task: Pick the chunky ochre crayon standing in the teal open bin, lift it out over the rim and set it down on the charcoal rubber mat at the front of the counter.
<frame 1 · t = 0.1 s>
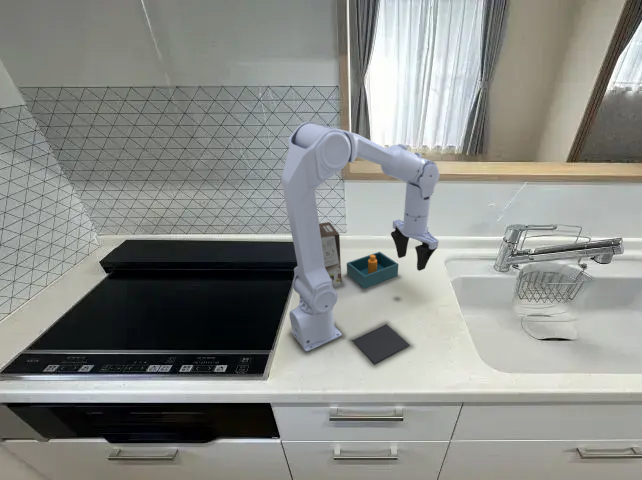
hand: (411, 262, 84), 10 cm above the worktop, tool pointing down, fingers open, 7 cm apart
coffee box: (327, 280, 95), on the worktop
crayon: (372, 274, 96), point 1 cm above the worktop, touching teal open bin
teal open bin: (372, 276, 97), on the worktop
mat: (380, 343, 74), on the worktop
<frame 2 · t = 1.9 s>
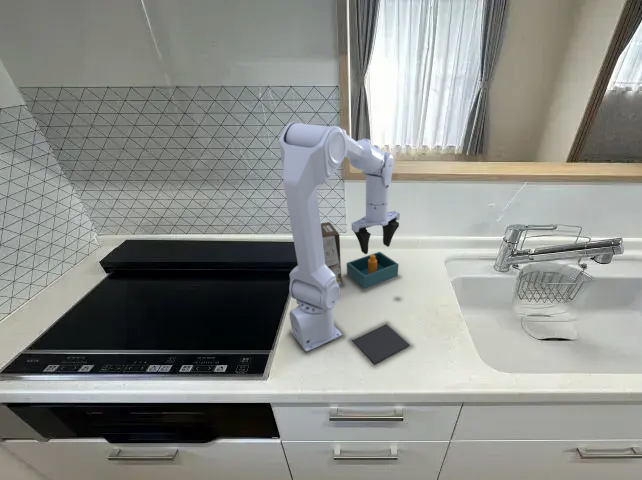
hand: (375, 248, 90), 10 cm above the worktop, tool pointing down, fingers open, 7 cm apart
nothing on the worktop moved.
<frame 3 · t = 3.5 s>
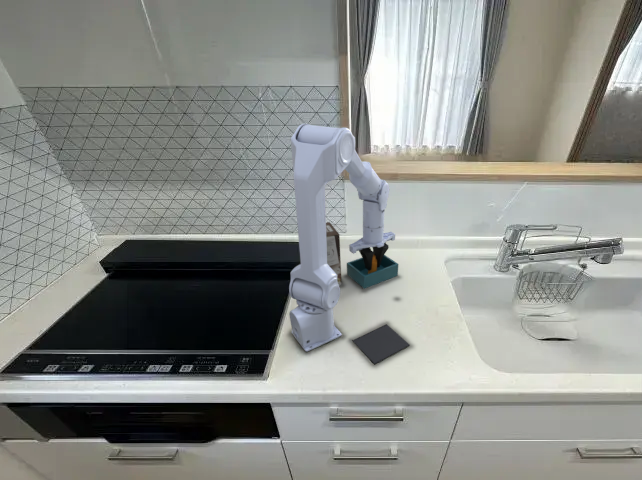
hand: (372, 267, 95), 3 cm above the worktop, tool pointing down, fingers closed on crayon, 2 cm apart
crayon: (372, 274, 96), point 1 cm above the worktop, touching teal open bin, gripper
everything else where it was.
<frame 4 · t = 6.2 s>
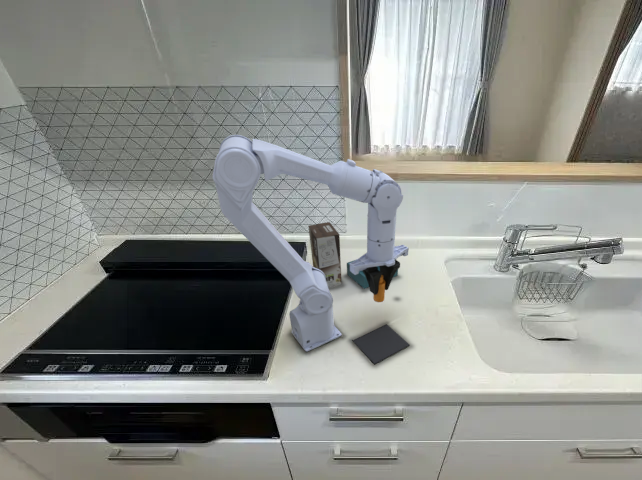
hand: (379, 290, 74), 10 cm above the worktop, tool pointing down, fingers closed on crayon, 2 cm apart
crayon: (378, 299, 75), point 7 cm above the worktop, touching gripper
everything else where it was.
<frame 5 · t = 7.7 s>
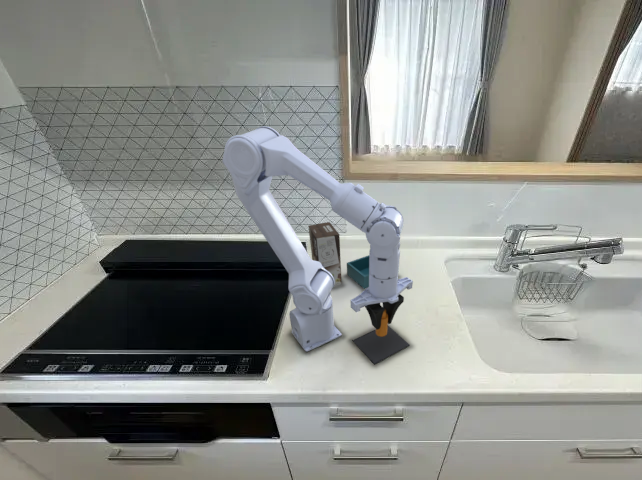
hand: (381, 324, 71), 6 cm above the worktop, tool pointing down, fingers closed on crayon, 2 cm apart
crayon: (381, 332, 72), point 3 cm above the worktop, touching gripper
everything else where it was.
when the fingers open (3 cm above the worktop, at t = 8.8 s): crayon stays where it is, resting on mat.
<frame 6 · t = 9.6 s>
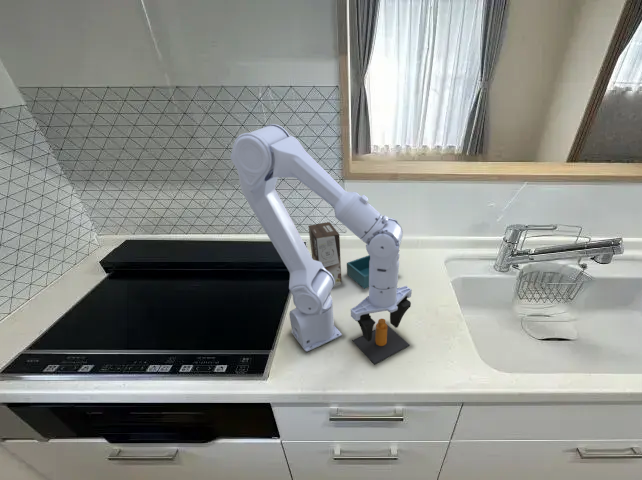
hand: (380, 331, 72), 4 cm above the worktop, tool pointing down, fingers open, 7 cm apart
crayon: (380, 342, 74), resting on mat
everything else where it was.
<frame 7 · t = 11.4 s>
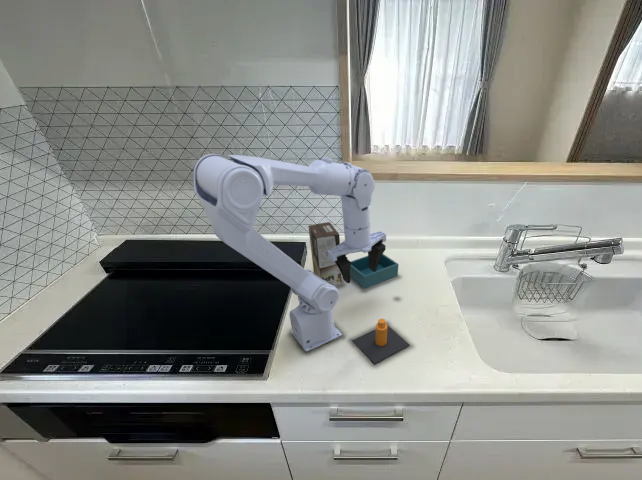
hand: (360, 275, 78), 10 cm above the worktop, tool pointing down, fingers open, 7 cm apart
nothing on the worktop moved.
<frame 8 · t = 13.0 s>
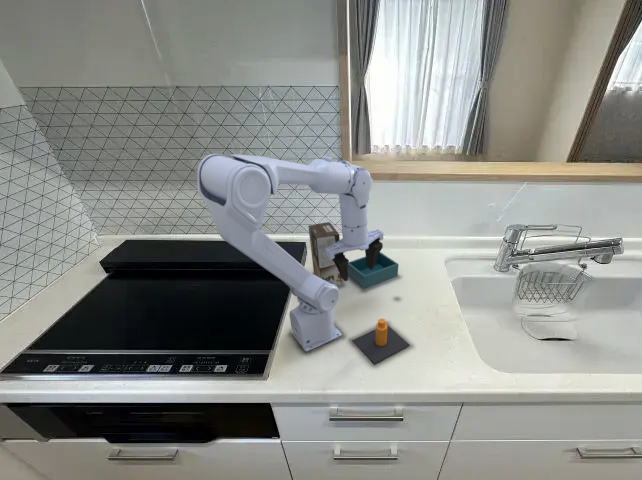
hand: (357, 273, 79), 10 cm above the worktop, tool pointing down, fingers open, 7 cm apart
nothing on the worktop moved.
at the end: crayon inside the target area on the mat (0.1 cm from its centre), point 0.4 cm above the mat's base; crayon touching mat; the gripper is holding nothing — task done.
